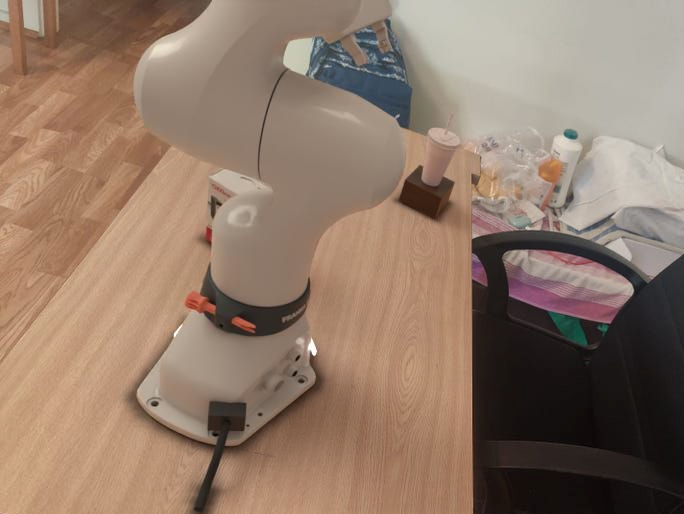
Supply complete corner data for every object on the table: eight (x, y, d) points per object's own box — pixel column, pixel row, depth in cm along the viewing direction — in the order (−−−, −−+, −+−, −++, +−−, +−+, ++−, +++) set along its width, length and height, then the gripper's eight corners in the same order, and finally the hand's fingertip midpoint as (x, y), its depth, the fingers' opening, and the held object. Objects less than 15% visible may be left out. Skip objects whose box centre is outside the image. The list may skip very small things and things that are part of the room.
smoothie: (447, 179, 122) (469, 114, 113) (443, 194, 117) (466, 128, 108) (417, 167, 121) (437, 101, 112) (412, 182, 116) (432, 115, 107)
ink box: (203, 239, 94) (205, 174, 86) (225, 227, 97) (229, 163, 89) (249, 267, 93) (255, 203, 85) (270, 254, 97) (277, 192, 89)
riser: (434, 219, 120) (441, 197, 116) (398, 201, 120) (404, 179, 116) (447, 202, 126) (455, 182, 122) (413, 185, 125) (419, 164, 122)
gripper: (316, -34, 86) (363, 64, 93) (376, -47, 101) (413, 38, 108) (284, -14, 89) (332, 80, 96) (347, -30, 104) (385, 52, 111)
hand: (375, 57), depth 102 cm, fingers open, 8 cm apart
